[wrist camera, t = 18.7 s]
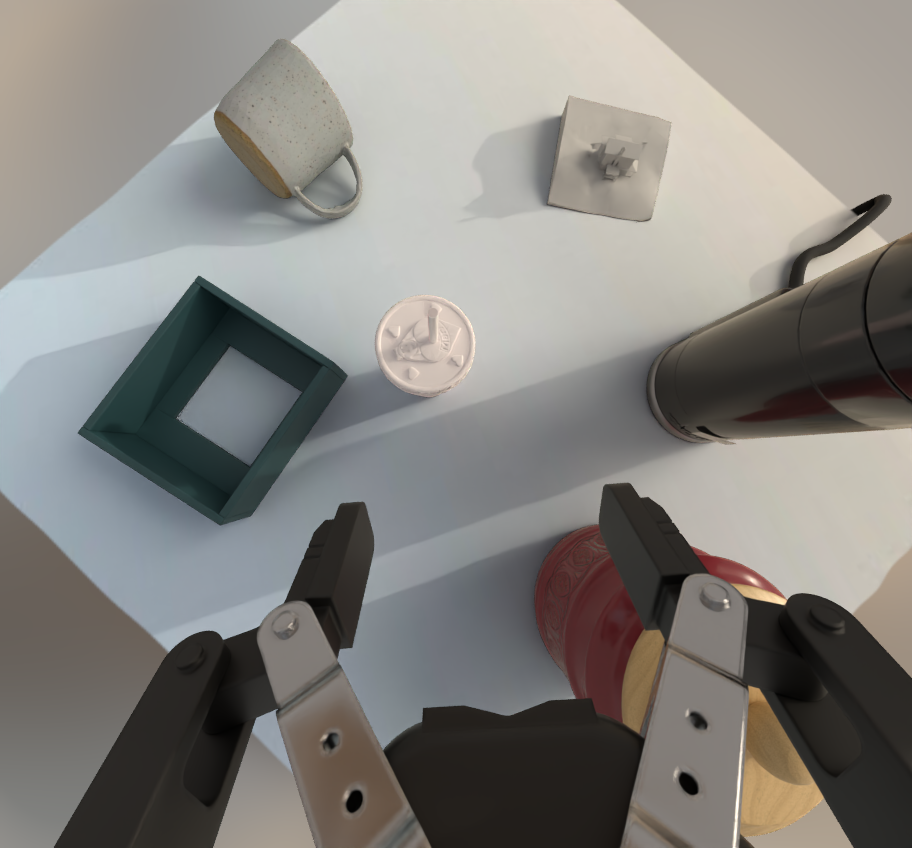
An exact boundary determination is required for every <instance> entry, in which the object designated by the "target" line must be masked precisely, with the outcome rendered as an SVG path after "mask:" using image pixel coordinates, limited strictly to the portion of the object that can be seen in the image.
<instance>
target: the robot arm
mask: <svg viewBox="0 0 912 848" xmlns="http://www.w3.org/2000/svg"><path fill="white" fill-rule="evenodd" d="M891 199H892V198H891V196H890V195H885V194H883V195H879V196H877V197H874V198H872V199H870V200H868V201H866V202H864V203H862V204H860V205H858V206H857V207H855V208H853V209H851V211H852V212H853V213H854V214H855V215H856V216H859V215H861V214H863V213H865V212H866V213H865V214H864V215H863V216H862V217H861V218H859V219H858V220H857V221H856V222H854V223H853V224H852V225H851V226H849V227H848V228H847V229H845V230H844V231H843V232H841V233H840V234H838V235H837V236H836V237H834V238H833V239H831V240H830V241H828V242H826V243H824V244H821V245H818V246H814V247H812V248H809V249H807V250H806V251H804V252H803V253H802V254H801V255H800V256H799V257H798V258H797V259H796V261H795V262H794V264H793V267H792V270H791V274H790V280H789V287H788V288H782V289H780V290H778V291H776V292H774V293H772V294H770V295H768V296H766V297H764V298H761V299H759V300H757V301H755V302H753V303H751V304H749V305H747V306H745V307H743V308H741V309H739V310H737V311H735V312H733V313H731V314H729V315H727V316H725V317H723V318H721V319H719V320H717V321H715V322H713V323H711V324H709V325H707V326H705V327H703V328H701V329H699V330H697V331H695V332H693V333H691V334H690V336H689V337H688V339H685V340H682V341H680V342H678V343H676V344H674V345H672V346H670V347H668V348H667V349H665V350H664V351H663V352H662V353H661V354H660V355H659V356H658V357H657V358H656V360H655V361H654V363H653V365H652V367H651V369H650V372H649V375H648V380H647V396H648V401H649V404H650V407H651V410H652V412H653V414H654V416H655V417H656V419H657V420H658V421H659V423H660V424H661V425H662V426H663V427H664V428H665V429H666V430H667V431H668V432H670V433H671V434H673V435H674V436H676V437H678V438H680V439H683V440H686V441H689V442H695V443H707V442H719V443H722V444H735V443H732V442H729V441H726V440H740V439H755V438H770V437H785V436H800V435H815V434H830V433H846V432H861V431H876V430H891V429H903V428H912V233H910V234H908V235H906V236H904V237H902V238H900V239H897V240H895V241H893V242H891V243H889V244H887V245H885V246H883V247H881V248H878V249H876V250H874V251H872V252H870V253H868V254H866V255H864V256H862V257H860V258H857V259H855V260H853V261H851V262H849V263H847V264H845V265H843V266H841V267H839V268H837V269H835V270H833V271H831V272H829V273H826V274H824V275H822V276H820V277H818V278H816V279H814V280H812V281H810V282H807V283H805V284H803V281H804V274H805V270H806V267H807V264H808V263H809V261H810V260H811V259H813V258H815V257H818V256H821V255H824V254H827V253H830V252H832V251H834V250H835V249H837V248H838V247H840V246H841V245H843V244H844V243H846V242H847V241H848V240H850V239H851V238H852V237H854V236H855V235H856V234H858V233H859V232H860V231H861V230H863V229H864V228H865V227H866V226H868V225H869V224H870V223H871V222H872V221H873V220H875V219H876V218H877V217H878V216H879V215H880V214H881V213H882V212H883V211H884V210H885V209H886V208H887V207H888V206H889V205H890V203H891ZM867 211H868V212H867ZM599 529H600V533H601V536H602V539H603V541H604V543H605V545H606V547H607V549H608V552H609V554H610V556H611V558H612V560H613V562H614V564H615V566H616V569H617V571H618V573H619V575H620V577H621V579H622V581H623V584H624V586H625V588H626V590H627V592H628V594H629V596H630V598H631V601H632V603H633V605H634V607H635V609H636V611H637V613H638V616H639V618H640V620H641V622H642V624H643V626H644V628H645V631H650V630H660V632H661V634H662V636H663V638H664V643H663V646H662V650H661V654H660V658H659V662H658V666H657V669H656V673H655V677H654V681H653V685H652V689H651V692H650V696H649V700H648V704H647V708H646V711H645V714H644V718H643V721H642V725H641V728H640V732H639V734H638V733H637V732H636V731H634V730H633V729H631V728H630V727H628V726H627V725H625V724H624V723H622V722H620V721H618V720H616V719H614V718H612V717H609V716H606V715H604V714H601V713H597V712H596V711H595V708H594V704H593V701H592V698H585V699H568V700H551V701H547V702H545V703H542V704H540V705H537V706H535V707H532V708H529V709H527V710H524V711H522V712H519V713H516V714H514V715H510V716H504V715H500V714H496V713H492V712H488V711H484V710H480V709H476V708H472V707H468V706H449V707H432V708H423V718H422V722H421V723H418V724H415V725H414V726H412V727H410V728H408V729H406V730H405V731H404V732H402V733H401V734H399V735H398V736H397V737H396V738H395V739H393V740H392V741H391V742H390V743H389V744H388V745H387V746H386V747H385V749H384V750H382V748H381V746H380V744H379V742H378V740H377V738H376V736H375V734H374V732H373V730H372V728H371V726H370V724H369V722H368V720H367V718H366V715H365V713H364V711H363V709H362V707H361V705H360V703H359V701H358V699H357V697H356V695H355V693H354V691H353V689H352V687H351V685H350V683H349V681H348V679H347V677H346V675H345V673H344V671H343V669H342V667H341V665H340V664H339V663H338V661H337V658H338V654H339V650H340V649H344V648H352V646H353V642H354V637H355V633H356V629H357V624H358V620H359V615H360V611H361V606H362V602H363V597H364V593H365V588H366V584H367V579H368V575H369V570H370V566H371V562H372V557H373V552H374V535H373V531H372V527H371V523H370V520H369V516H368V512H367V508H366V505H365V503H364V502H352V503H341V504H340V505H339V508H338V510H337V513H336V516H335V518H334V519H332V520H325V521H324V522H323V523H322V524H321V525H320V526H319V527H318V529H317V530H316V531H315V532H314V534H313V536H312V539H311V541H310V543H309V548H307V550H306V553H305V555H304V559H303V560H302V562H301V565H300V567H299V569H298V572H297V574H296V576H295V579H294V581H293V583H292V586H291V588H290V591H289V593H288V595H287V598H286V600H285V602H284V604H282V605H280V606H278V607H277V608H275V609H274V610H272V611H271V612H270V613H269V614H268V615H267V616H266V617H265V618H264V620H263V621H262V623H261V624H260V626H259V627H257V628H255V629H252V630H250V631H247V632H244V633H241V634H239V635H236V636H233V637H230V638H228V639H225V640H223V639H222V637H221V636H220V635H219V634H218V633H217V632H214V631H202V632H199V633H196V634H193V635H191V636H189V637H187V638H186V639H184V640H183V641H181V642H180V643H179V644H177V645H176V646H175V647H174V648H173V649H172V650H171V651H170V652H169V653H168V655H167V656H166V657H165V659H164V660H163V662H162V663H161V665H160V667H159V668H158V670H157V672H156V673H155V675H154V677H153V679H152V680H151V682H150V684H149V685H148V687H147V689H146V691H145V692H144V694H143V696H142V697H141V699H140V701H139V703H138V704H137V706H136V708H135V710H134V711H133V713H132V714H131V716H130V718H129V720H128V721H127V723H126V725H125V726H124V728H123V730H122V732H121V733H120V735H119V737H118V738H117V740H116V742H115V744H114V745H113V747H112V749H111V750H110V752H109V754H108V756H107V757H106V759H105V761H104V763H103V764H102V766H101V767H100V769H99V771H98V773H97V774H96V776H95V778H94V780H93V781H92V783H91V785H90V786H89V788H88V790H87V792H86V793H85V795H84V797H83V799H82V800H81V802H80V804H79V805H78V807H77V809H76V810H75V812H74V814H73V815H72V817H71V819H70V821H69V822H68V824H67V826H66V827H65V829H64V831H63V832H62V834H61V836H60V838H59V839H58V841H57V843H56V845H55V846H54V848H213V846H214V843H215V840H216V837H217V834H218V831H219V827H220V824H221V822H222V819H223V816H224V813H225V810H226V807H227V804H228V801H229V798H230V794H231V792H232V788H233V785H234V783H235V780H236V776H237V774H238V771H239V767H240V764H241V762H242V758H243V755H244V753H245V749H246V747H247V744H248V741H249V738H250V734H251V732H252V729H253V726H254V723H255V720H256V718H257V717H259V716H261V715H264V714H266V713H268V712H271V711H273V710H276V709H278V710H277V711H276V716H277V721H278V724H279V728H280V731H281V734H282V738H283V741H284V744H285V748H286V751H287V754H288V757H289V761H290V764H291V767H292V771H293V774H294V777H295V780H296V784H297V787H298V790H299V793H300V797H301V800H302V803H303V807H304V810H305V813H306V817H307V820H308V823H309V826H310V830H311V833H312V836H313V839H314V843H315V846H316V848H754V847H753V846H752V845H751V844H750V843H749V842H748V841H747V840H746V839H745V838H744V837H743V836H742V835H741V834H740V824H741V809H742V794H743V779H744V764H745V749H746V734H747V719H748V704H749V687H748V686H751V687H755V688H759V689H760V690H761V692H762V694H763V696H764V697H765V699H766V701H767V702H768V704H769V706H770V707H771V709H772V711H773V712H774V714H775V716H776V717H777V719H778V721H779V723H780V724H781V726H782V728H783V729H784V731H785V733H786V734H787V736H788V738H789V739H790V741H791V743H792V744H793V746H794V748H795V750H796V751H797V753H798V755H799V756H800V758H801V760H802V761H803V763H804V765H805V766H806V768H807V770H808V771H809V773H810V775H811V777H812V778H813V780H814V782H815V783H816V785H817V787H818V788H819V790H820V792H821V793H822V795H823V797H824V798H825V800H826V802H827V804H828V805H829V807H830V809H831V810H832V812H833V814H834V815H835V817H836V819H837V820H838V822H839V824H840V825H841V827H842V829H843V831H844V832H845V834H846V836H847V837H848V839H849V841H850V842H851V844H852V845H853V847H854V848H912V678H911V677H910V676H909V675H908V674H907V673H906V672H905V670H904V669H903V668H902V667H901V666H900V665H899V664H898V663H897V662H896V661H895V660H894V659H893V658H892V657H891V655H890V654H889V653H887V651H886V650H885V649H884V648H883V647H882V646H881V645H880V644H879V643H878V641H877V640H876V639H875V638H874V637H873V636H872V635H871V634H870V633H869V632H868V631H867V630H866V629H865V627H864V626H863V625H862V624H861V623H860V622H859V621H858V620H857V619H856V618H855V617H854V616H853V615H852V614H851V613H849V612H848V611H847V610H846V609H844V608H843V607H841V606H839V605H838V604H836V603H834V602H832V601H830V600H828V599H826V598H823V597H820V596H817V595H813V594H805V593H800V594H795V595H792V596H791V597H790V598H789V599H788V600H787V602H786V604H785V605H782V604H777V603H772V602H767V601H762V600H757V599H752V598H748V597H745V596H743V595H742V594H741V593H740V592H739V591H738V590H737V589H736V588H735V587H734V586H733V585H731V584H730V583H728V582H727V581H725V580H723V579H721V578H719V577H716V576H713V575H711V574H710V573H709V571H708V570H707V569H706V567H705V566H704V565H703V563H702V562H701V560H700V559H699V558H698V556H697V555H696V553H695V552H694V551H693V549H692V548H691V546H690V545H689V544H688V542H687V541H686V540H685V538H684V537H683V535H682V534H680V533H679V530H678V528H677V527H676V526H675V524H674V523H672V520H671V519H670V517H669V516H668V515H667V513H666V512H665V510H664V509H663V508H662V507H661V506H660V505H658V504H657V503H655V502H654V501H653V500H651V499H650V498H649V497H644V498H640V497H639V495H638V494H637V492H636V491H635V489H634V488H633V486H632V485H631V484H630V483H617V484H606V485H604V487H603V492H602V499H601V506H600V514H599Z"/></svg>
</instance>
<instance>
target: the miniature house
mask: <svg viewBox="0 0 912 848" xmlns="http://www.w3.org/2000/svg"><path fill="white" fill-rule="evenodd" d="M670 129H671V122H669V121H666V120H663V119H661V118H659V117H655V116H650V115H646V114H642V113H637V112H633V111H629V110H625V109H621V108H617V107H613V106H609V105H604V104H600V103H596V102H592V101H588V100H584V99H580V98H576V97H573V96H569V97H568V100H567V103H566V106H565V108H564V111H563V114H562V118H561V124H560V130H559V136H558V142H557V148H556V154H555V160H554V166H553V172H552V178H551V184H550V190H549V196H548V202H547V204H548V205H553V206H558V207H563V208H567V209H572V210H577V211H582V212H587V213H593V214H601V215H607V216H611V217H615V218H621V219H629V220H639V221H638V222H640V221H646V220H650V219H651V218H652V214H653V210H654V206H655V202H656V198H657V194H658V190H659V184H660V179H661V175H662V171H663V167H664V162H665V157H666V153H667V148H668V143H669V136H670Z"/></svg>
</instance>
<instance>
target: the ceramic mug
mask: <svg viewBox="0 0 912 848" xmlns="http://www.w3.org/2000/svg"><path fill="white" fill-rule="evenodd" d="M214 121H215V125H216V128H217V130H218V131H219V133H220V135H221V136H222V138H223V139H224V140H225V142H226V143H227V145H228V146H229V147H230V148H231V150H232V151H233V152H234V153H235V154H236V156H237V157H238V158H239V159H240V160H241V161H242V163H243V164H244V165H245V166H246V167H247V168H248V169H249V170H250V171H251V173H252V174H253V175H254V176H255V177H256V178H257V179H258V180H259V181H260V182H261V183H262V184H263V185H264V186H265V187H266V188H268V189H269V190H270V191H271V192H272V193H274V194H275V195H276V196H278V197H282V198H289V197H291V196H296V197H297V198H298V200H299V201H300V202H301V203H302V204H303V205H304V206H305V207H306V208H308V209H309V210H311V211H312V212H313V213H315V214H317V215H319V216H321V217H324V218H330V219H334V218H340V217H343V216H345V215H347V214H348V213H350V212H351V211H352V210H353V209H354V208H355V207H356V206H357V204H358V202H359V200H360V197H361V193H362V176H361V171H360V168H359V166H358V163H357V161H356V159H355V157H354V155H353V153H352V152H351V150H350V148H351V146H352V144H353V135H352V129H351V126H350V124H349V121H348V119H347V116H346V114H345V112H344V110H343V108H342V106H341V104H340V102H339V100H338V99H337V97H336V95H335V93H334V92H333V90H332V89H331V87H330V86H329V84H328V82H327V81H326V80H325V79H324V77H323V76H322V74H321V73H320V71H319V70H318V69H317V68H316V66H315V65H314V64H313V63H312V61H311V60H310V59H309V58H308V57H307V56H306V55H305V54H304V53H303V52H302V51H301V50H300V49H299V48H298V47H297V46H295V45H294V44H293V43H291V42H290V41H288V40H285V39H279V40H277V41H276V42H275V43H274V44H273V45H272V46H271V47H270V48H269V50H268V51H267V52H266V53H265V54H264V55H263V56H262V57H261V58H260V59H259V60H258V61H257V62H256V63H255V65H254V66H253V67H252V68H251V69H250V70H249V71H248V72H247V73H246V74H245V75H244V77H243V78H242V79H241V80H240V81H239V82H238V83H237V84H236V85H235V86H234V87H233V88H232V89H231V90H230V91H229V92H228V93H227V94H226V95H225V96H224V97H223V99H222V100H221V102H220V104H219V106H218V107H217V109H216V111H215V113H214ZM342 155H344V156H345V157H346V158H347V160H348V162H349V163H350V165H351V167H352V169H353V172H354V174H355V177H356V181H357V185H356V194H355V196H354V197H353V198H352V199H351V200H349V201H348V202H347V203H345V204H344V205H341V206H335V207H334V208H333V209H331V208H328V209H324V208H322V207H319V206H317V205H315V204H314V203H312V202H311V201H310V200H309V199H307V198H306V197H305V196H304V195H303V194H302V193H301V191H302V190H303V189H304V188H305V187H306V186H307V185H309V184H310V183H311V182H312V181H313V179H314V178H315V177H317V176H318V175H319V174H320V173H321V172H323V171H324V170H325V169H326V168H328V167H329V166H330V165H331V164H333V163H334V162H335V161H337V159H338V158H340V157H341V156H342Z"/></svg>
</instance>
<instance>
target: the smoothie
mask: <svg viewBox="0 0 912 848" xmlns="http://www.w3.org/2000/svg"><path fill="white" fill-rule="evenodd" d="M375 351H376V356H377V359H378V363H379V366H380V368H381V370H382V371H383V373H384V375H385V376H386V378H387V379H388V380H389V381H391V382H392V383H393V384H394V385H395V386H396V387H398V388H399V389H401V390H403V391H405V392H407V393H410V394H414V395H418V396H423V397H434V396H437V395H439V394H441V393H445V392H447V391H448V390H450V389H452V388H454V387H455V386H457V385H458V384H459V383H460V382H461V381H462V380H463V379H464V378H465V377H466V375H467V373H468V371H469V370H470V368H471V366H472V362H473V358H474V354H475V336H474V331H473V328H472V326H471V323H470V322H469V320H468V318H467V317H466V315H465V314H464V313H463V312H462V311H461V310H460V309H459V308H458V307H457V306H456V305H454V304H453V303H451V302H450V301H448V300H446V299H443V298H440V297H437V296H431V295H418V296H413V297H409V298H406V299H404V300H402V301H400V302H398V303H396V304H395V305H394V306H392V307H391V308H390V309H389V310H388V311H387V312H386V314H385V315H384V316H383V318H382V319H381V321H380V323H379V325H378V328H377V331H376V336H375Z"/></svg>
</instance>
